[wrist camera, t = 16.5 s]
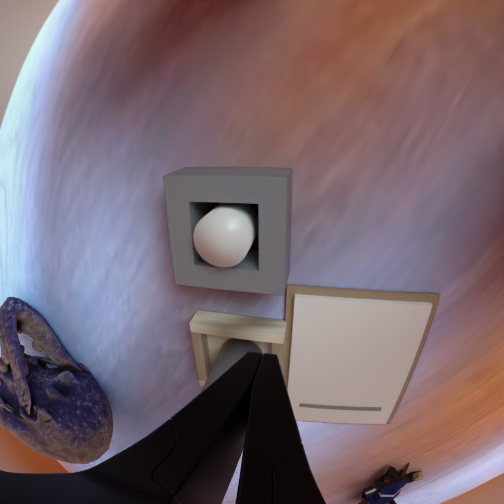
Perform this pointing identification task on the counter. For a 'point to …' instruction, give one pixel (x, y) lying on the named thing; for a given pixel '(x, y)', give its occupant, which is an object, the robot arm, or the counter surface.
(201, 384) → the holder tray
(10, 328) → the decorative skull
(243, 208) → the button
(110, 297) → the counter surface
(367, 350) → the white flat rectangular panel
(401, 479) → the toy
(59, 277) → the counter surface
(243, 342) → the marker
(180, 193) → the button housing
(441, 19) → the counter surface
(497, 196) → the counter surface
